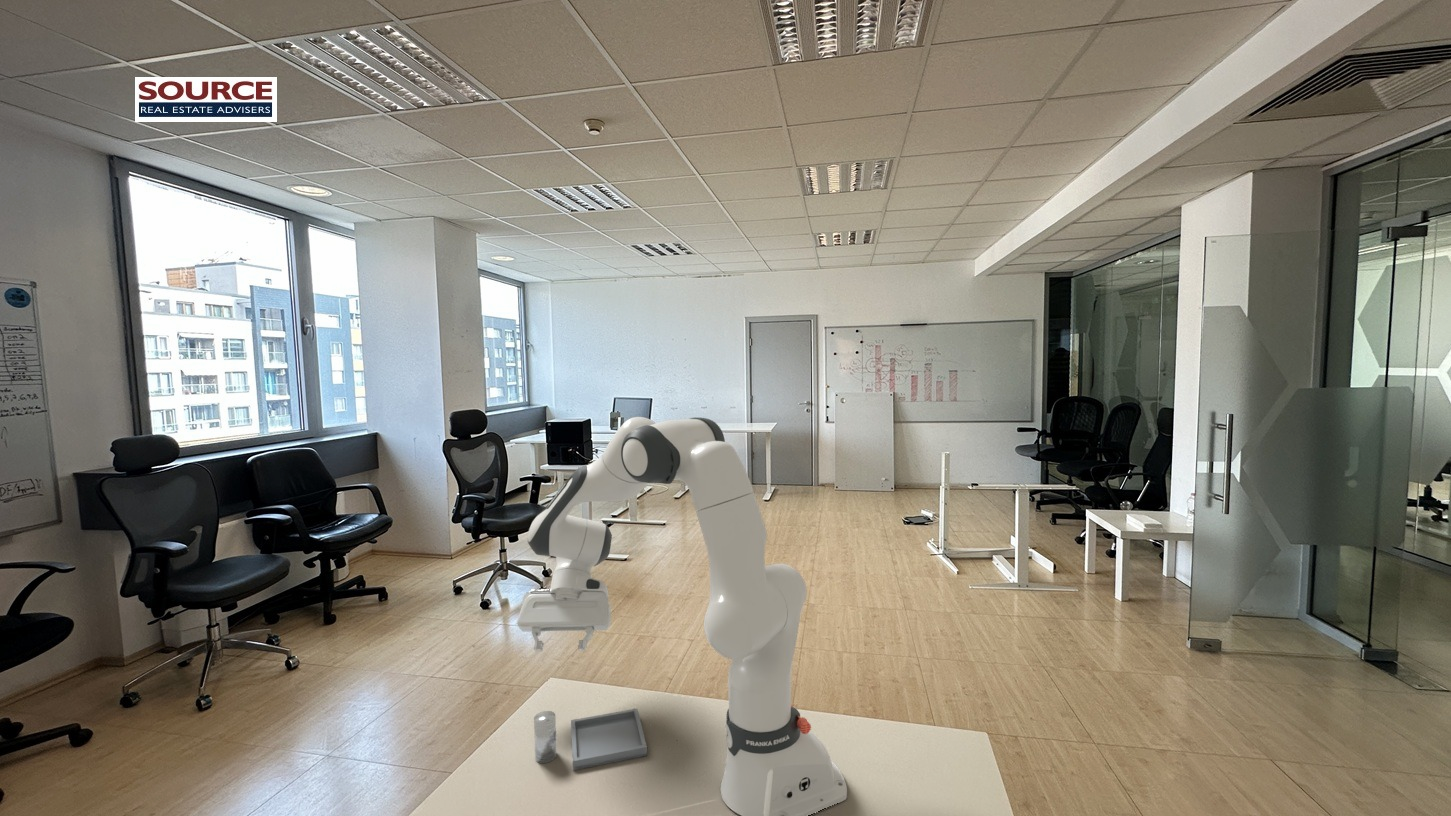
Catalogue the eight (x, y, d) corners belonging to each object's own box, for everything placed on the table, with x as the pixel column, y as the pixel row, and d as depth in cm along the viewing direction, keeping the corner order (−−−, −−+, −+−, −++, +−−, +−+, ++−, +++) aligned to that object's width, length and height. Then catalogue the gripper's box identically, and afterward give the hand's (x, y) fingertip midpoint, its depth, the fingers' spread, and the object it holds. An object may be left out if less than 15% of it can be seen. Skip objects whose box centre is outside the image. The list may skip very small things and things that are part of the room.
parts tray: (637, 716, 125) (637, 708, 125) (647, 755, 112) (646, 746, 112) (571, 728, 121) (570, 720, 121) (573, 770, 108) (572, 761, 108)
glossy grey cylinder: (556, 748, 115) (555, 709, 114) (556, 760, 111) (555, 720, 111) (535, 752, 114) (534, 713, 113) (534, 765, 110) (533, 724, 109)
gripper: (521, 583, 130) (507, 645, 121) (611, 582, 131) (604, 644, 122) (528, 595, 135) (515, 655, 126) (615, 594, 136) (608, 654, 127)
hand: (559, 650), depth 124 cm, fingers open, 8 cm apart
